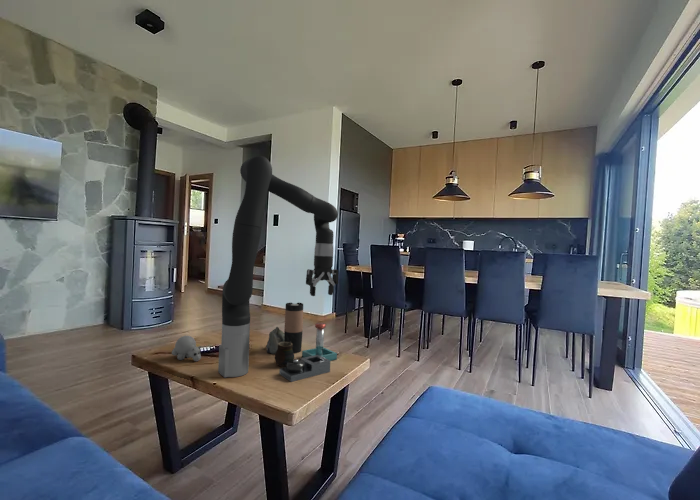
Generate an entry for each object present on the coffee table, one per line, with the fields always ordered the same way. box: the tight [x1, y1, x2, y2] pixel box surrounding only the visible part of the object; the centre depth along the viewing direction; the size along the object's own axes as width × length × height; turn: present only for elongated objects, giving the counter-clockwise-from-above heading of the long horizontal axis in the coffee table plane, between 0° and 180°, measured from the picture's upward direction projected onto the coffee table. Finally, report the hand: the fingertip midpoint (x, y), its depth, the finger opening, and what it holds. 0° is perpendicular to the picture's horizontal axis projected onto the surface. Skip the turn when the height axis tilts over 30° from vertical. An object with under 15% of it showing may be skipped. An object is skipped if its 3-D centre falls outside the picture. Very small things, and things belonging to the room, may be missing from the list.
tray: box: [301, 346, 338, 362], centre depth 135 cm, size 10×10×2 cm
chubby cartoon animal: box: [171, 335, 202, 362], centre depth 128 cm, size 7×12×8 cm, turn 65°
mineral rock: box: [266, 326, 284, 355], centre depth 144 cm, size 13×11×10 cm
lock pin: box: [314, 322, 327, 356], centre depth 135 cm, size 4×4×13 cm
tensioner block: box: [278, 355, 331, 383], centre depth 119 cm, size 16×8×5 cm, turn 130°
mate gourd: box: [274, 341, 295, 368], centre depth 126 cm, size 7×8×10 cm
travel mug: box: [283, 302, 304, 354], centre depth 143 cm, size 8×8×20 cm
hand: (321, 295), depth 135 cm, fingers open, 8 cm apart
